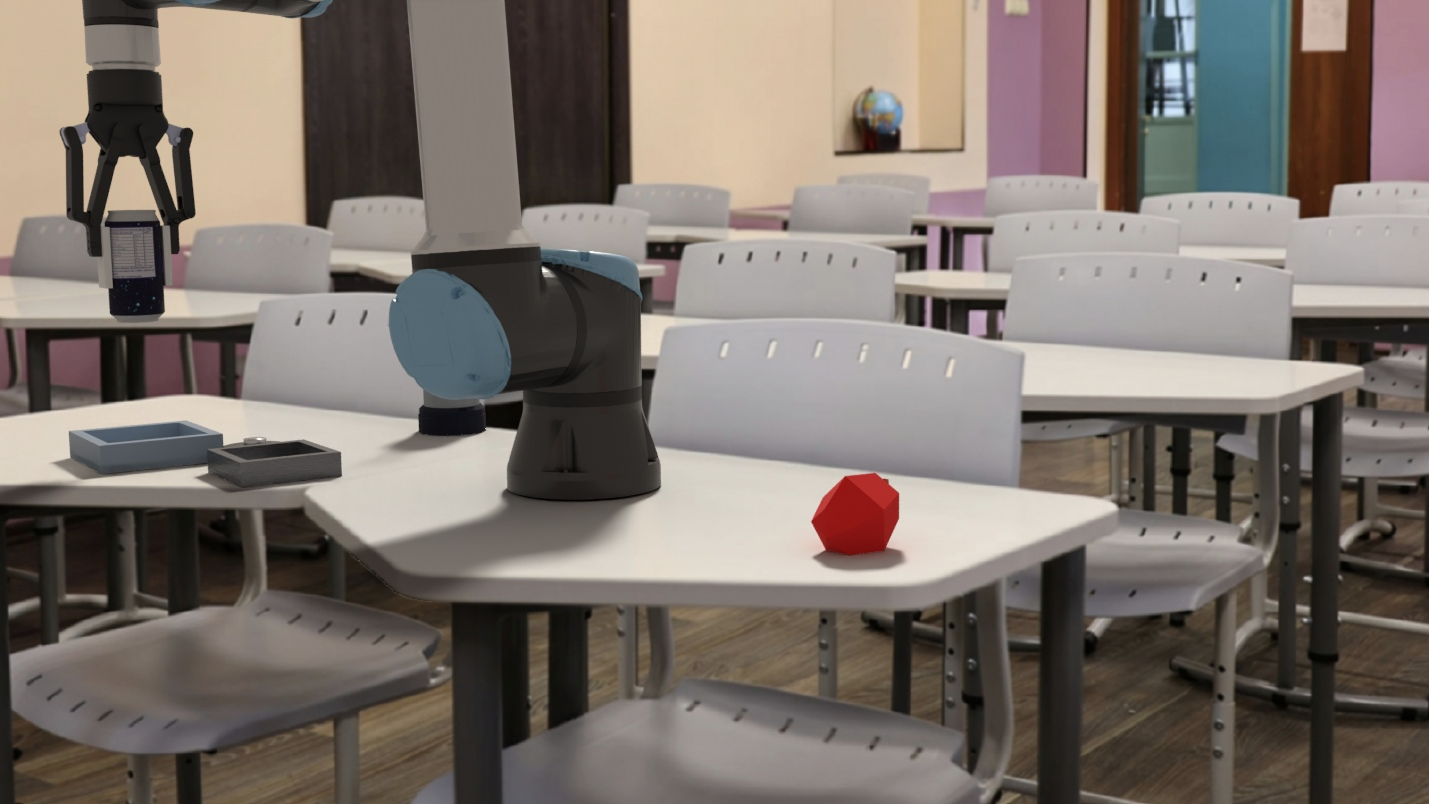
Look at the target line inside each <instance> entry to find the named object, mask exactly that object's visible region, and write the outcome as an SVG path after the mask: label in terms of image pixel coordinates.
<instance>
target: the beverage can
mask: <svg viewBox="0 0 1429 804" xmlns="http://www.w3.org/2000/svg"><path fill="white" fill-rule="evenodd" d="M156 212H157V211H156V209H117V210H116V209H115V210H114V209H112V210H107V213H108V214H107V216H106V218H105V220H104V223H103V224H104V227H109V229H110V246H111V263H112V281H113V288H107V290H108V305H109V314H110V315H111V316H112V317H113V318H114V319H116V320H117V321H116V322H117V323H121V324H122V323H123V324H124V323H126V324H128V323H129V324H131V323H132V324H133V323H134V324H135V323H152V322H158V321H159V319H160V318H161V317H162V316H163V315H164V313H165V312H166V305H165V286H164V284H163V266H162V247H161V229H160V225H161V221H160V219H159V218H158V215H157V213H156Z"/></svg>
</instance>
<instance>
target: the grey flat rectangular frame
mask: <svg viewBox="0 0 1429 804" xmlns="http://www.w3.org/2000/svg"><path fill="white" fill-rule="evenodd" d="M207 460H208V463H207V472H208V474H210V475H212V476H215V477H216V478H220V479H221V480H224V481H226V482H228V483H231V484H232V485H235V486H238V487H239V488H249V487H257V486H267V485H275V484H281V483H282V484H283V483H291V482H292V483H293V482H299V481H301V482H302V481H309V480H310V481H311V480H316V479H317V480H318V479H326V478H327V479H328V478H335V477H343V469H342V464H343V463H342V452H341V451H339V450H336V449H334V448H330V447H328V446H325V445H321V444H319V443H315V442H313V441H309V440H307V439H296V440H295V439H294V440H284V441H283V440H282V441H277V440H267V437H265V436H252V437H251V436H250V437H245V438H243V441H242V442H234V443H233V442H232V443H228V444H225V445H223V447H222V448H214V449H207Z"/></svg>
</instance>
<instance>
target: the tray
mask: <svg viewBox="0 0 1429 804" xmlns="http://www.w3.org/2000/svg"><path fill="white" fill-rule="evenodd" d="M68 442H69V456H70V459H72V460H74V461H76V462H78V463H79V464H82V465H83V466H85V467H87V468H89V469H91V470H93V471H95V472H97V473H98V474H101V475H104V474H105V475H106V474H113V473H114V474H116V473H124V472H134V471H143V470H150V469H151V470H152V469H162V468H170V467H181V466H189V465H199V464H208V460H207V449H214V448H222V447H223V446H224V435H223V433H221V432H219V431H216V430H214V429H211V428H208V427H205V426H203V425H199V424H197V423H194V422H192V421H189V420H176V421H175V420H174V421H164V422H154V423H153V422H152V423H141V424H132V425H131V424H130V425H119V426H109V427H97V428H89V429H88V428H87V429H76V430H75V429H74V430H68Z"/></svg>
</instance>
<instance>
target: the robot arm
mask: <svg viewBox="0 0 1429 804" xmlns="http://www.w3.org/2000/svg"><path fill="white" fill-rule="evenodd" d="M81 1H82V2H81V3H82V16H83V17H82V18H83V23H84V24H83V27H84V46H85V47H84V48H85V51H84V52H85V63H86V64H87V65H88V66H90V67H91V68H92V70H89V71H88V73H86V85H87V86H86V87H87V101H88V103H87V104H88V113H87V115H86V117H85V119H84V122H82V123H79V124H76V125H69V126H67V125H66V126H62V127H61V128H60V129H59V137H60V138H61V141H62V144H63V147H64V149H65V197H66V199H65V201H66V202H65V204H66V205H65V207H66V212H65V213H66V217H67V219H68V220H70V221H74V222H76V223H79V224H82V225H83V226H84V228H85V234H86V252H87V254H88V255H89V257H90V258H91V257H92V258H97V259H96V260H97V275H98V277H97V278H98V287H99V288H101V289H108V288H113V281H112V263H111V246H110V229H109V227H105V226H102V223H103V218H104V214H105V211H106V207H107V206H106V205H107V202H108V199H109V193H110V189H111V186H112V182H113V178H114V174H115V170H116V166H118V165H117V164H118V163H119V158H125V157H131V158H138V160H139V162H140V165H141V166H142V168H143V170H144V174H145V175H146V178H147V181H148V184H149V186H150V187H149V188H150V190H151V193H152V196H153V199H154V201H155V204H156V207H157V210H158V212H159V215H160V219H161V220H162V223H163V225H161V224H160V229H161V247H162V266H163V284H164V287H171V286H174V284H173V263H172V260H173V259H172V255H179V253H180V249H181V247H180V230H179V228H180V224H182V223H183V222H184V221H187V220H190V219H193V218H195V216H196V214H197V213H196V202H195V192H194V184H193V183H194V182H193V174H192V170H193V169H192V163H191V151H190V149H191V146H192V145H191V144H192V141H193V137H194V130H193V129H192V128H191V127H180V126H177V125H175V124H171V123H169V121H168V119H167V117H166V115H165V112H164V103H163V81H162V80H163V79H162V74H160V72H159V71H158V70H157V71H156V67H159V66H160V65H161V64H162V59H161V46H160V35H159V34H160V33H159V32H160V31H159V29H160V28H159V15H158V14H159V12H158V11H159V9H163V8H179V7H181V8H183V7H184V8H185V7H186V8H196V9H204V10H205V9H208V10H217V11H219V10H220V11H226V12H228V11H229V12H239V13H240V12H241V13H249V14H259V15H267V16H275V17H281V18H287V19H300V18H315V17H318V16H320V15H322V14H323V13H325V12H326V10H327V8H328V7H329V6H330V5H331V4H332V3H333V0H81ZM406 7H407V20H408V21H407V22H408V32H409V33H408V34H409V43H410V55H411V68H412V79H413V90H414V104H415V115H416V126H417V127H416V129H417V137H418V138H417V139H418V149H419V150H418V152H419V161H420V163H419V164H420V174H421V185H422V186H421V187H422V198H423V209H424V211H423V212H424V223H425V232H424V234H423V236H422V237H421V238H420V240H419V241H418V242H417V243H416V245H415V246H414V247H413V248H412V250H411V251H410V260H411V272H412V273H411V274H410V275H408V277H405V278H404V280H402V282H401V283H400V284H399V285H398V286H397V288H396V290H395V295H396V296H395V297H393V298H392V299H391V301H390V305H389V311H388V331H389V336H390V340H391V344H392V347H393V350H394V353H395V355H396V358H397V360H398V362H399V363H400V365H401V367H402V368H403V370H404V371H405V372H406V374H407V376H409V377H411V378H413V379H414V381H415V383H416V384H417V385H418V387H420V388H421V389H422V390H423V389H424V390H425V391H427V392H429V393H430V394H432V395H434V396H437V397H440V398H444V399H450V400H460V399H479V400H486V399H491V398H494V397H495V396H497V395H498V396H499V395H503V394H509V393H515V392H521V391H522V414H521V417H520V420H519V425H518V427H517V430H516V434H515V437H514V440H513V444H512V447H511V451H510V455H509V457H508V458H509V459H508V461H507V465H506V486H507V487H506V489H507V490H508V491H509V492H511V493H514V494H517V495H520V496H522V497H523V496H525V497H529V498H537V499H545V500H547V499H549V500H567V501H568V500H572V501H574V500H578V501H579V500H581V501H582V500H602V499H614V498H615V499H616V498H623V497H629V496H630V497H631V496H635V495H636V496H637V495H639V494H644V493H648V492H652V491H654V490H657V489H658V488H660V487H661V485H662V467H661V466H662V465H661V460H660V457H659V455H658V451H657V448H656V445H655V442H654V440H653V437H652V433H651V431H650V428H649V425H648V422H647V419H646V416H645V412H644V409H643V395H642V394H643V392H642V391H643V389H642V387H643V386H642V380H643V379H642V306H641V304H642V302H643V294H642V292H641V286H640V272H639V268H638V265H637V264H636V263H635V262H634V260H633V259H631V258H630V257H628V256H626V255H625V256H624V255H620V254H616V253H609V252H600V251H591V250H590V251H587V250H585V251H583V250H575V249H559V248H541V242H540V241H539V240H537V238H535V236H533V235H532V234H531V233H530V232H528V231H527V230H526V228H525V227H524V226H523V221H522V209H521V207H522V206H521V197H520V184H519V170H518V169H519V168H518V158H517V143H516V131H515V120H514V108H513V106H514V105H513V96H512V95H513V93H512V91H513V90H512V81H511V80H512V79H511V68H510V56H509V54H510V53H509V42H508V41H509V40H508V29H507V17H506V16H507V15H506V3H505V0H406ZM88 133H89V135H90V136H91V138H93V140H94V141H95V142H96V144H97V145H98V146H99V147H100V150H99V154H98V156H97V167H96V170H95V174H94V179H93V183H92V187H91V192H90V196H89V200H88V203H87V208H86V211H85V202H84V201H85V197H84V196H85V194H84V193H85V191H84V190H85V189H84V188H85V187H84V181H85V180H84V150H83V149H84V147H83V145H84V144H85V143H86V141H87V134H88ZM164 135H167V137H168V138H167V140H168V143H169V145H171V146H172V149H171V152H172V153H171V156H172V157H171V158H172V167H173V176H174V185H175V196H176V204H177V205H175V201H174V199H173V196H172V193H171V190H170V187H169V185H168V181H167V179H166V178H167V177H166V175H165V172H164V171H163V170H164V169H163V167H162V164H161V157H160V154H159V151H158V149H157V147H158V145H159V143H160V142H161V140H162V138H164ZM176 206H177V207H176Z"/></svg>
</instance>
